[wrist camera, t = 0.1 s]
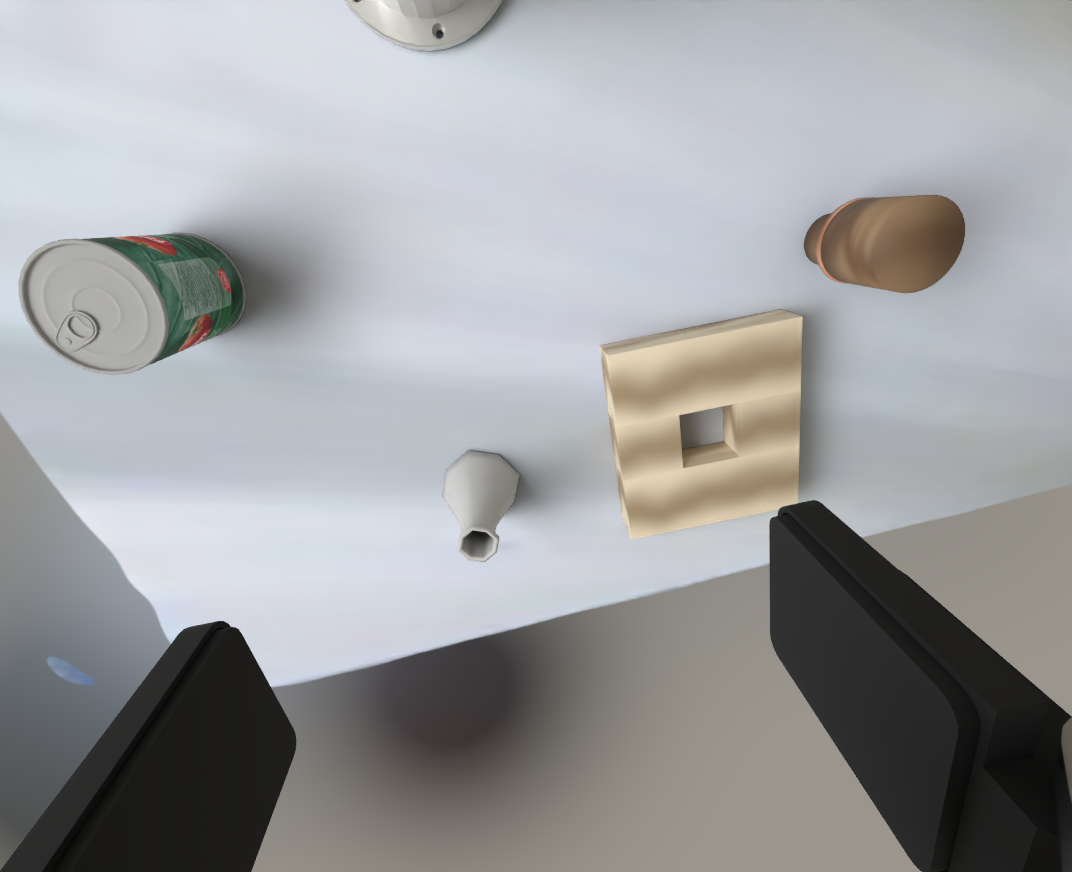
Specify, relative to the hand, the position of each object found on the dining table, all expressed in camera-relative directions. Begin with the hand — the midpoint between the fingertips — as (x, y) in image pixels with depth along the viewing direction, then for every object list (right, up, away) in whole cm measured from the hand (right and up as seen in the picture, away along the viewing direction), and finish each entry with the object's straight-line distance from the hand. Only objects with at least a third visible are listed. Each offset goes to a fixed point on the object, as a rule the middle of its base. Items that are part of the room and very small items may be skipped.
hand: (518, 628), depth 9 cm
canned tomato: (-27, +15, +32) cm, 44 cm away
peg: (+25, +20, +34) cm, 46 cm away
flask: (-5, -1, +40) cm, 41 cm away
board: (+15, +5, +39) cm, 42 cm away
